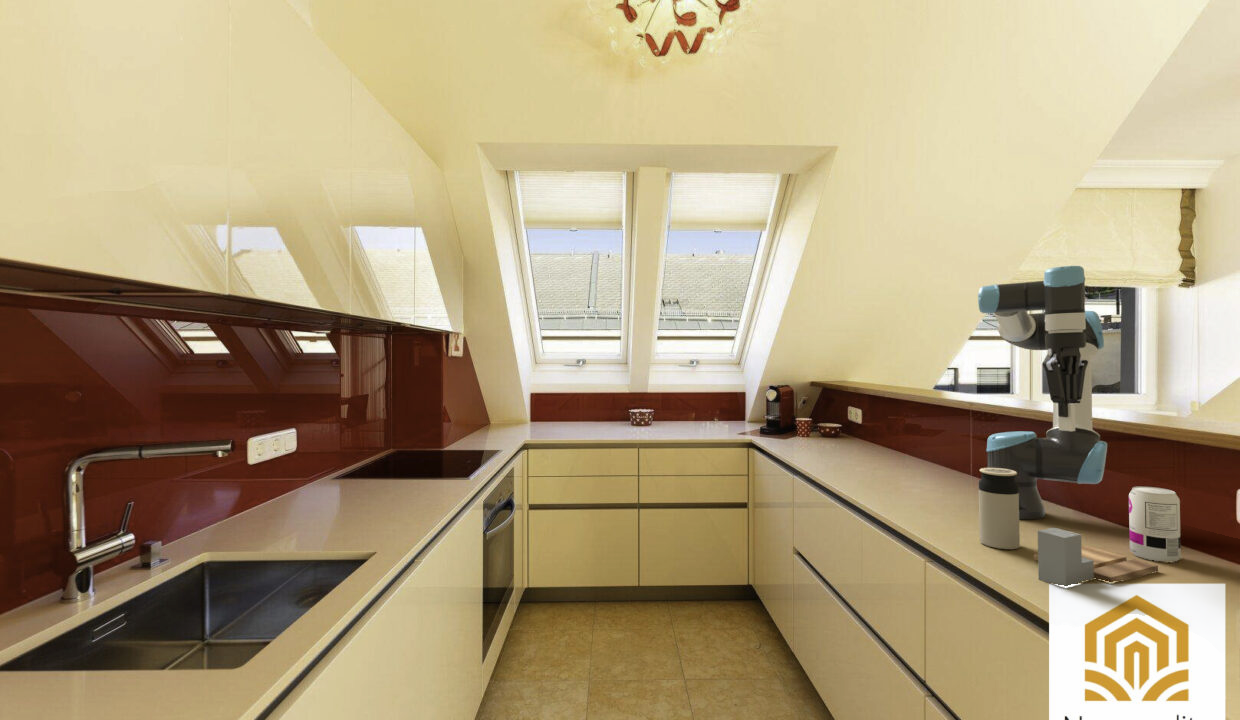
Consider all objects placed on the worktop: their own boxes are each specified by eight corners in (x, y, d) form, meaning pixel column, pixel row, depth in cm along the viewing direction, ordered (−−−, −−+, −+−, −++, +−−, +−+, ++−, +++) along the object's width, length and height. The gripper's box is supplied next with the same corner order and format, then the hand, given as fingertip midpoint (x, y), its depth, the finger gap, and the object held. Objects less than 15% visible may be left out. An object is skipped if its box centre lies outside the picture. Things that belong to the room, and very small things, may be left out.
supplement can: (1122, 554, 125) (1121, 488, 125) (1141, 548, 128) (1140, 484, 128) (1169, 566, 117) (1167, 496, 117) (1188, 559, 121) (1187, 491, 121)
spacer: (1069, 572, 115) (1068, 524, 115) (1096, 581, 111) (1095, 531, 111) (1038, 579, 112) (1037, 530, 112) (1065, 588, 107) (1064, 537, 107)
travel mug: (1026, 551, 128) (1025, 474, 128) (988, 549, 129) (987, 473, 129) (1009, 540, 136) (1008, 467, 136) (974, 538, 137) (972, 467, 137)
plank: (1079, 549, 128) (1079, 544, 128) (1128, 562, 119) (1128, 557, 119) (1034, 559, 122) (1033, 554, 122) (1081, 574, 114) (1081, 568, 114)
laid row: (1131, 564, 119) (1131, 557, 119) (1158, 571, 114) (1157, 565, 114) (1084, 576, 113) (1084, 569, 113) (1110, 584, 109) (1110, 577, 109)
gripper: (1065, 332, 136) (1067, 426, 136) (1030, 333, 132) (1032, 430, 132) (1100, 330, 129) (1102, 430, 129) (1064, 331, 125) (1066, 434, 125)
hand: (1066, 430), depth 131 cm, fingers closed
